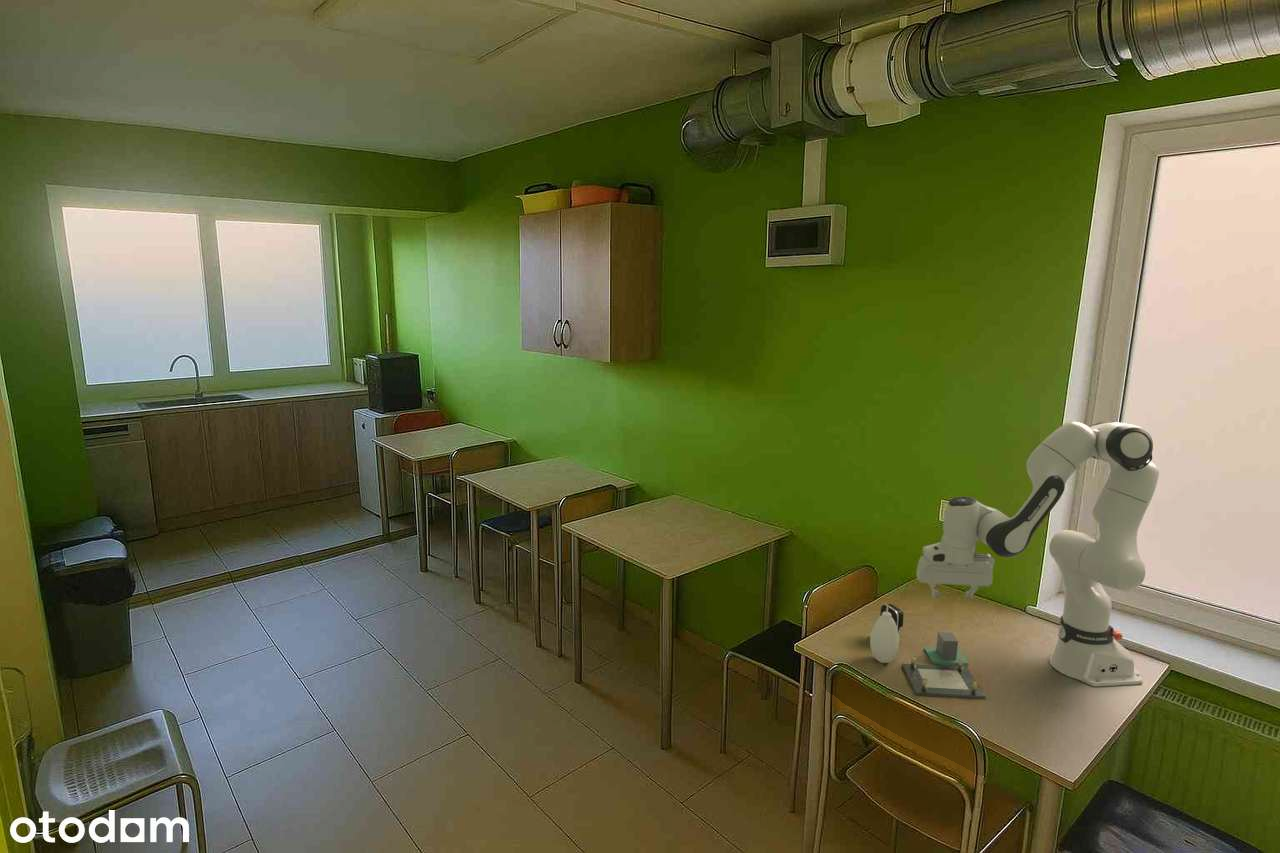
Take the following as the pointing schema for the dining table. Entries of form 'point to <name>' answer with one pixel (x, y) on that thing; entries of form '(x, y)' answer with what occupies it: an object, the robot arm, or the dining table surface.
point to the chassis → (942, 680)
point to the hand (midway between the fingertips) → (951, 597)
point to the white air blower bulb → (884, 638)
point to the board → (944, 662)
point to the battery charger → (894, 614)
